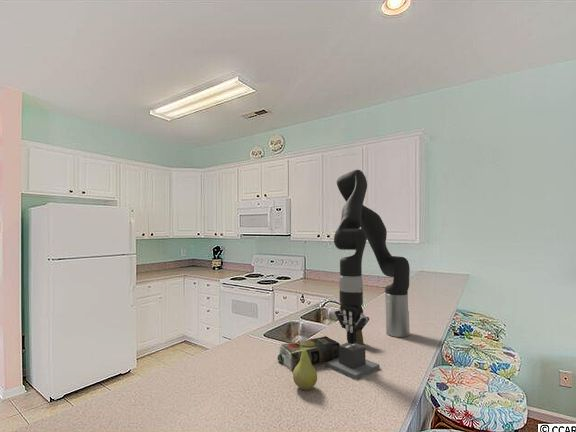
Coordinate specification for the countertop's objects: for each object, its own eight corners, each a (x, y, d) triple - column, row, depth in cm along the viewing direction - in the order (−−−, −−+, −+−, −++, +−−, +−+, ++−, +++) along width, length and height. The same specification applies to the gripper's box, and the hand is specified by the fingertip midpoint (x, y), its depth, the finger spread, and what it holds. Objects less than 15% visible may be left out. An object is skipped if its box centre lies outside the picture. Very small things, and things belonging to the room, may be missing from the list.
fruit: (301, 397, 81) (300, 350, 82) (287, 385, 87) (287, 342, 88) (321, 390, 84) (321, 346, 85) (307, 379, 91) (306, 338, 91)
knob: (350, 358, 103) (350, 340, 104) (365, 363, 99) (365, 345, 99) (338, 362, 99) (338, 344, 100) (353, 369, 95) (353, 349, 95)
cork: (364, 347, 117) (363, 317, 117) (348, 345, 118) (347, 316, 119) (363, 341, 123) (362, 313, 123) (348, 340, 124) (347, 312, 125)
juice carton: (288, 372, 96) (288, 352, 97) (275, 361, 105) (275, 342, 105) (341, 361, 105) (340, 342, 105) (325, 351, 114) (325, 334, 114)
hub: (350, 356, 107) (349, 341, 108) (379, 368, 98) (379, 351, 98) (326, 366, 100) (326, 349, 100) (355, 379, 90) (355, 361, 91)
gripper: (328, 287, 103) (328, 340, 102) (360, 293, 93) (361, 352, 92) (343, 285, 108) (343, 335, 107) (374, 290, 98) (375, 346, 97)
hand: (351, 343), depth 99 cm, fingers closed
